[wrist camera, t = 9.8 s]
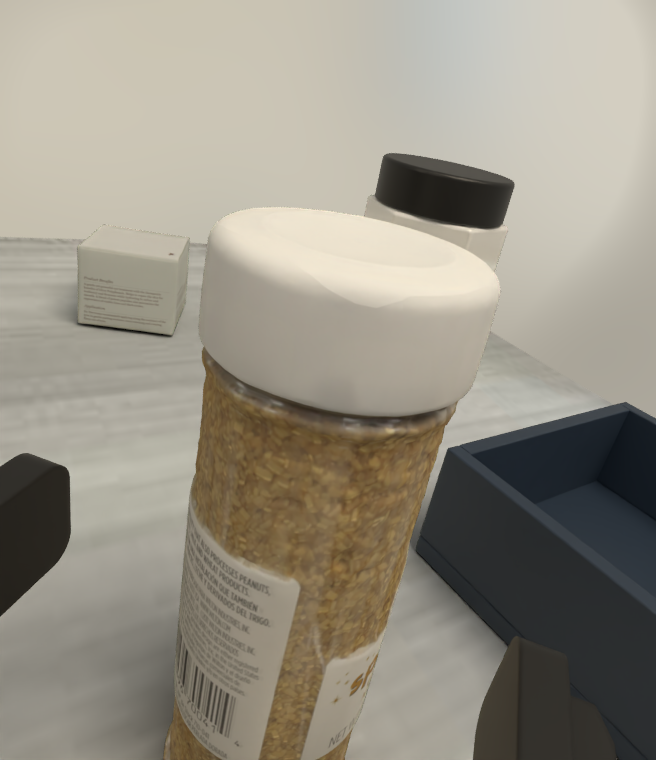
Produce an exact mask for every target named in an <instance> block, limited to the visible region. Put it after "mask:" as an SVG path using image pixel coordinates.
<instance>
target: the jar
mask: <svg viewBox="0 0 656 760" xmlns="http://www.w3.org/2000/svg"><path fill="white" fill-rule="evenodd" d="M513 189H514V182H513V181H512V180H510V179H508V178H506V177H503V176H501V175H498V174H494V173H491V172H488V171H485V170H481V169H477V168H474V167H469V166H465V165H461V164H457V163H452V162H448V161H443V160H438V159H433V158H427V157H421V156H415V155H407V154H397V153H396V154H395V153H389V154H386V155H384V156H383V160H382V164H381V169H380V174H379V179H378V184H377V188H376V193H375V195H370V196H369V197H368V200H367V205H366V210H365V215H364V217H367V218H372V219H376V220H380V221H385V222H389V223H393V224H396V225H400V226H404V227H407V228H411V229H414V230H417V231H420V232H423V233H426V234H429V235H432V236H434V237H437V238H440V239H442V240H445V241H448V242H450V243H452V244H454V245H457V246H459V247H461V248H463V249H465V250H467V251H469V252H470V253H472V254H474V255H475V256H477V257H478V258H480V259H481V260H482V261H484V262H485V263H486V264H487V265H488V266H489V267H490V268H491V269H492V270H493V272H494V273H495V270H496V267H497V264H498V260H499V257H500V254H501V251H502V248H503V245H504V241H505V238H506V235H507V232H508V227H507V226H505V225H503V221H504V218H505V215H506V211H507V208H508V205H509V202H510V198H511V195H512V192H513Z"/></svg>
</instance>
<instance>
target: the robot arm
mask: <svg viewBox="0 0 656 760" xmlns="http://www.w3.org/2000/svg"><path fill="white" fill-rule="evenodd" d="M70 533H71V520H70V476H69V472H68V470H67V468H66V467H64V466H62V465H59V464H56V463H53V462H51V461H48V460H45V459H43V458H40V457H37V456H35V455H32V454H29V453H23V454H20V455H18V456H16V457H14V458H13V459H11V460H10V461H8V462H7V463H5V464H4V465H2V466H1V467H0V616H1V615H2V614H3V613H5V612H6V611H7V610H8V609H9V608H10V607H11V606H12V605H13V604H14V603H15V602H16V601H17V600H18V599H19V598H20V597H21V596H23V595H24V594H25V593H26V592H27V591H28V590H29V589H30V588H31V587H32V586H33V585H34V584H35V583H36V582H37V581H38V580H40V579H41V578H42V577H43V576H44V575H45V574H46V573H47V572H48V571H49V570H50V569H51V568H52V567H53V566H54V565H55V564H56V563H57V562H58V561H59V559H60V558H61V556H62V555H63V553H64V551H65V549H66V547H67V545H68V542H69V538H70ZM473 760H617V758H616V751H615V744H614V742H613V740H612V738H611V736H610V734H609V732H608V730H607V727H606V725H605V723H604V721H603V719H602V717H601V715H600V713H599V711H598V709H597V707H596V705H594V704H592V703H589V702H587V701H584V700H581V699H579V698H576V697H574V696H571V693H570V679H569V665H568V659H567V657H566V655H565V654H564V653H561V652H559V651H556V650H553V649H551V648H548V647H545V646H542V645H540V644H537V643H534V642H532V641H529V640H526V639H524V638H521V637H518V636H515V637H514V638H513V639H512V641H511V643H510V644H509V647H508V649H507V651H506V653H505V655H504V657H503V660H502V662H501V664H500V666H499V668H498V670H497V672H496V675H495V677H494V679H493V681H492V683H491V685H490V687H489V690H488V692H487V694H486V696H485V699H484V701H483V704H482V707H481V711H480V714H479V719H478V723H477V728H476V734H475V743H474V754H473Z"/></svg>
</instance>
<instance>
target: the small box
mask: <svg viewBox="0 0 656 760" xmlns="http://www.w3.org/2000/svg"><path fill="white" fill-rule="evenodd" d="M189 246H190V238H189V237H182V236H174V235H167V234H161V233H154V232H148V231H141V230H135V229H129V228H123V227H116V226H110V225H102V226H101V227H99V228H98V229H97V230H96V231H95V232H94V233H93V234H92V235H91V236H89V237H88V238H87V239H86V240H85V241H83V242H82V243H81V244H80V245H78V247H77V257H78V316H77V320H78V322H79V323H82V324H92V325H100V326H107V327H115V328H122V329H130V330H137V331H145V332H152V333H159V334H166V335H173V333H174V330H175V328H176V325H177V323H178V320H179V318H180V315H181V313H182V310H183V307H184V305H185V303H186V291H187V277H188V262H189Z"/></svg>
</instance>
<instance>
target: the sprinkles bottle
mask: <svg viewBox="0 0 656 760" xmlns="http://www.w3.org/2000/svg"><path fill="white" fill-rule="evenodd" d="M499 297H500V284H499V280H498V278H497V276H496V275H495V273H494V272H493V270H492V269H491V268H490V267H489V266H488V265H487V264H486V263H485V262H484V261H482V260H481V259H480V258H478V257H477V256H475V255H474V254H472V253H470V252H469V251H467V250H465V249H463V248H461V247H459V246H457V245H454V244H452V243H450V242H448V241H445V240H442V239H440V238H437V237H434V236H432V235H429V234H426V233H423V232H420V231H417V230H414V229H411V228H407V227H404V226H400V225H396V224H393V223H389V222H385V221H380V220H376V219H372V218H367V217H363V216H357V215H351V214H345V213H339V212H333V211H324V210H315V209H304V208H291V207H266V208H265V207H264V208H251V209H246V210H241V211H237V212H234V213H231V214H228V215H226V216H224V217H223V218H221V219H220V220H219V221H218V222H217V223H216V224H215V225H214V226H213V228H212V230H211V231H210V234H209V237H208V244H207V251H206V259H205V266H204V274H203V283H202V292H201V303H200V314H199V326H198V327H199V336H200V339H201V342H202V343H203V345H204V347H203V350H202V361H203V365H204V367H205V370H206V379H205V383H204V388H203V405H202V419H201V427H200V439H199V443H198V453H197V459H196V474H195V476H194V478H193V482H192V486H191V491H190V497H189V507H188V519H187V532H186V542H185V552H184V563H183V575H182V585H181V597H180V609H179V621H178V633H177V645H176V656H175V668H174V689H175V703H174V713H173V721H172V723H171V725H170V727H169V729H168V733H167V737H166V741H165V748H164V758H163V760H345V758H344V756H345V754H346V750H347V746H348V742H349V739H350V734H351V732H352V729H353V726H354V725H355V723H356V721H357V719H358V717H359V715H360V713H361V710H362V707H363V704H364V700H365V697H366V694H367V690H368V687H369V684H370V680H371V677H372V674H373V670H374V667H375V664H376V660H377V657H378V653H379V650H380V647H381V644H382V641H383V637H384V634H385V631H386V628H387V625H388V621H389V618H390V615H391V611H392V608H393V605H394V601H395V598H396V595H397V592H398V589H399V586H400V582H401V579H402V576H403V572H404V569H405V566H406V561H407V555H408V550H409V542H410V539H411V536H412V532H413V529H414V526H415V523H416V520H417V517H418V514H419V511H420V508H421V502H422V500H423V498H424V496H425V492H426V488H427V485H428V481H429V477H430V473H431V471H432V469H433V466H434V463H435V461H436V457H437V453H438V448H439V445H440V444H441V442H442V438H443V433H444V428H445V425H447V424H448V422H449V420H450V419H451V417H452V415H453V414H454V413H455V410H456V405H457V403H458V401H459V400H460V399H461V398H463V397H464V396H465V395H466V394H467V393H468V391H469V390H470V389H471V387H472V385H473V382H474V380H475V377H476V374H477V371H478V368H479V365H480V362H481V359H482V356H483V353H484V350H485V346H486V343H487V340H488V336H489V333H490V329H491V326H492V322H493V319H494V315H495V312H496V308H497V305H498V301H499Z"/></svg>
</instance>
